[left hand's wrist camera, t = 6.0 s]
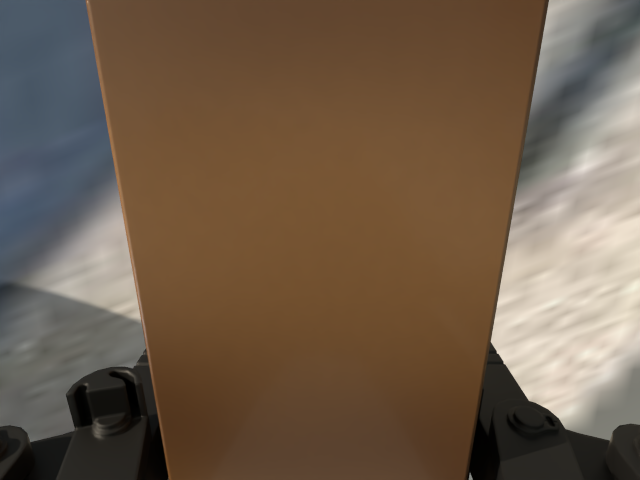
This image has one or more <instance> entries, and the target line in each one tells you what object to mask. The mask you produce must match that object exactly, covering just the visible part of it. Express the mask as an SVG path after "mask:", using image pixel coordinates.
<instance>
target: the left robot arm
mask: <svg viewBox="0 0 640 480" xmlns="http://www.w3.org/2000/svg"><path fill="white" fill-rule="evenodd" d="M66 397H67V401H68V404H69V408H70V412H71V416H72V419H73V423H74V427H75V431H73V432H70V433H66V434H63V435H59V436H55V437H51V438H47V439H42V440H38V441H34V442H30V440H29V437H28V434H27V433H26V432H25V431H24V430H23V429H22V428H21V427H15V426H3V427H0V480H168V477H169V476H168V470H167V465H166V459H165V453H164V447H163V442H162V436H161V430H160V424H159V419H158V413H157V407H156V401H155V396H154V390H153V384H152V378H151V373H150V367H149V361H148V355H147V350H146V349H145V351H144V353H143V355H142V356H141V357H140V359H139V360H138V362H137V365H136V366H134V368H133V369H131V368H128V367H110V368H106V369H102V370H98V371H96V372H93V373H91V374H89V375H87V376H85V377H83V378H82V379H80V380H79V381H78V382H76V383H75V384H74V385H73V386H72V387H71V388H70V390H69V391H68V392H67V394H66ZM470 473H471V476H472V478H473V480H640V425H636V424H626V425H620V426H618V427H617V428H616V429H615V430H614V431H613V433H612V436H611V439H610V441H609V440H605V439H601V438H597V437H592V436H588V435H584V434H580V433H576V432H573V431H570V430H566V429H565V428H564V426H563V425H562V423H561V421H560V420H559V418H557V417H556V416H555V415H554V414H553V413H552V412H550V411H549V410H548V409H546V408H544V407H542V406H540V405H538V404H536V403H534V402H530V401H529V400H528V399H527V397H526V396H525V394H524V393H523V391H522V390H521V388H520V387H519V385H518V383H517V382H516V380H515V379H514V377H513V376H512V374H511V373H510V371H509V370H508V368H507V367H506V365H505V364H503V360H502V359H501V357H500V356H499V354H497V351H496V350H495V348H494V347H493V345H492V343H491V342H490V348H489V354H488V360H487V365H486V371H485V377H484V383H483V389H482V395H481V401H480V406H479V412H478V418H477V424H476V430H475V436H474V442H473V447H472V453H471V459H470V465H469V471H468V477H467V480H469V474H470Z"/></svg>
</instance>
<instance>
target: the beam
mask: <svg viewBox="0 0 640 480" xmlns="http://www.w3.org/2000/svg"><path fill="white" fill-rule="evenodd" d="M548 2H549V0H86V5H87V11H88V16H89V22H90V28H91V34H92V39H93V45H94V51H95V57H96V62H97V68H98V74H99V80H100V85H101V91H102V97H103V103H104V108H105V114H106V120H107V126H108V131H109V137H110V143H111V149H112V154H113V160H114V166H115V172H116V177H117V183H118V189H119V195H120V200H121V206H122V212H123V217H124V223H125V229H126V235H127V240H128V246H129V252H130V258H131V263H132V269H133V275H134V281H135V286H136V292H137V298H138V304H139V309H140V315H141V321H142V327H143V332H144V338H145V344H146V350H147V355H148V361H149V367H150V373H151V378H152V384H153V390H154V396H155V401H156V407H157V413H158V419H159V424H160V430H161V436H162V442H163V447H164V453H165V459H166V465H167V470H168V476H169V480H467V477H468V471H469V465H470V459H471V453H472V447H473V442H474V436H475V430H476V424H477V418H478V412H479V406H480V401H481V395H482V389H483V383H484V377H485V371H486V365H487V360H488V354H489V348H490V342H491V336H492V330H493V324H494V319H495V313H496V307H497V301H498V295H499V289H500V283H501V278H502V272H503V266H504V260H505V254H506V248H507V242H508V237H509V231H510V225H511V219H512V213H513V207H514V201H515V196H516V190H517V184H518V178H519V172H520V166H521V160H522V155H523V149H524V143H525V137H526V131H527V125H528V119H529V113H530V108H531V102H532V96H533V90H534V84H535V78H536V72H537V67H538V61H539V55H540V49H541V43H542V37H543V31H544V26H545V20H546V14H547V8H548Z"/></svg>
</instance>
